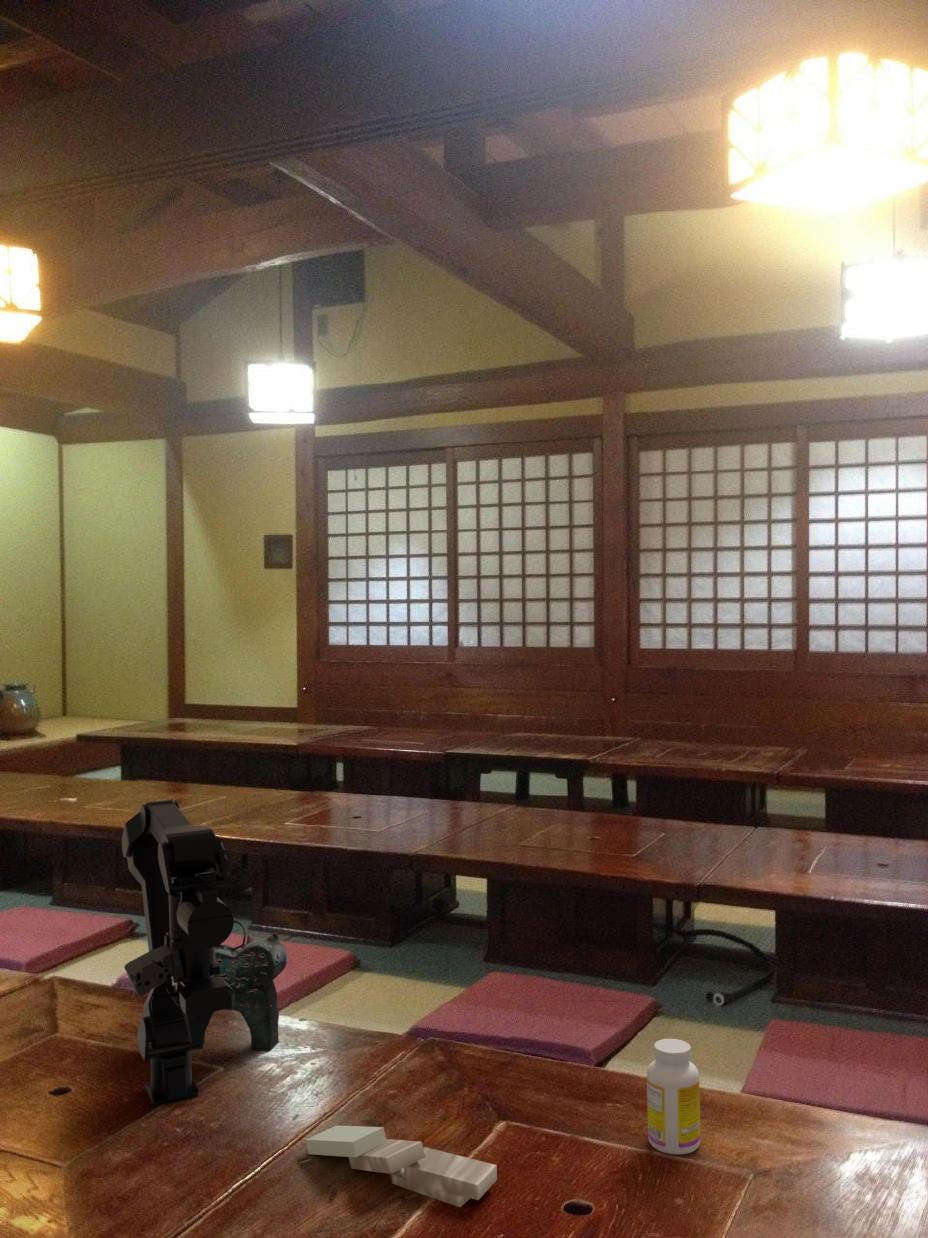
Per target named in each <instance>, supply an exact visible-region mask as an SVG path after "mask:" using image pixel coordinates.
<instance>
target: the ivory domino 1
mask: <svg viewBox="0 0 928 1238" xmlns="http://www.w3.org/2000/svg"><path fill="white" fill-rule="evenodd" d="M386 1141H387V1142H386V1143H384V1144H382V1145H380V1146H378V1147H376V1148H374V1149H372V1150H370V1151H368V1152H366V1153H364V1154H362V1155H360V1156H358V1157H348V1161H349V1166H350V1168H351V1170H357V1171H358V1170H360V1171H367V1172H375V1173H382V1174H389V1175H390V1174H391V1175H392V1174H393V1173H394V1172H396V1171H398V1170H400V1169H402V1168H404V1167H406V1166H408V1165H410V1164H412V1163H414V1162H416V1161H419V1160H421V1159H423V1158H425V1154H424V1150H423V1148H424V1146H423V1142H422V1141H415V1140H405V1139H393V1138H392V1139H391V1138H386Z"/></svg>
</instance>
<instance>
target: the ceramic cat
mask: <svg viewBox="0 0 928 1238" xmlns="http://www.w3.org/2000/svg"><path fill="white" fill-rule="evenodd" d="M233 920H234V923H236V924H238V925H240V927H241V928H242V930H243V939H242V943H241V944H240V945H238V946H232V945H228V944H223V943H222V944H220V945H218V946H216V947H215V961H216V963H217V964H218V965H219V966H220V974H215V975H210V977H215V978H220V977H221V978H222V979H223V980H224V981H226V982H227V983H228V984H229V985H230V986H231V988H232V989H233V990H234V991H235V1006H234V1007H233V1008H230V1009H225V1011H226V1010H227V1011H237V1012H239V1014H241V1016H242V1017H243V1019H244V1021H245V1023H246V1025H247V1027H248V1029H249V1032H250V1047H251V1050H252V1051H259V1050H263V1051H269V1052H270V1051H271V1050H273V1049H274V1048H275V1047H276V1046H277V1044H278V1043H279V1019H280V1011H279V1009H278V992H277V988H276V986H275V982H274V980H275V979H276V978H277V977H278V976H279V975H280V974H281V973H282V972H283V971H284V970H285V968H286V967H287V963H288V953H287V949H286V947H285V946H284V945H283V944H282V943H281V941H280V938H279V934H278V933H277V932H276V931H273V932H272V934H271V935H269V937H268V938H258V939H255V938H254V937H253V936H252V935H251V934H249V933H247V936H246V929H245V925H244V924H243V923H242V922H241V921H239V920H238V919H233ZM245 942H246V943H245Z"/></svg>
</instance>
